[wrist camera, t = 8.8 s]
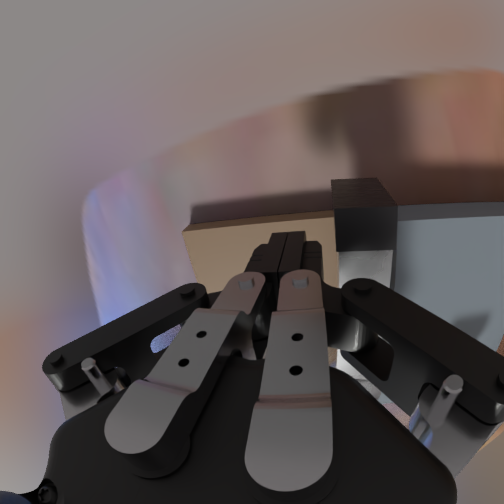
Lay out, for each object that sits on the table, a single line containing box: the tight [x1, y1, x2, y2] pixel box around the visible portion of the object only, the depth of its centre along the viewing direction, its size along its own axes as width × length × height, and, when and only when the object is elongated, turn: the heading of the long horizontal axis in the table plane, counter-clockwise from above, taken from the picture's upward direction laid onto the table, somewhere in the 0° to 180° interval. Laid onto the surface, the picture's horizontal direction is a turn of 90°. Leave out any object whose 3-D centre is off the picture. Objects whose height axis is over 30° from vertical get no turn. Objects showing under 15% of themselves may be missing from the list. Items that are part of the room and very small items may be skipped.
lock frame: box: [182, 202, 504, 404], centre depth 17 cm, size 16×22×5 cm
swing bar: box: [328, 178, 398, 400], centre depth 13 cm, size 12×3×4 cm, turn 10°
